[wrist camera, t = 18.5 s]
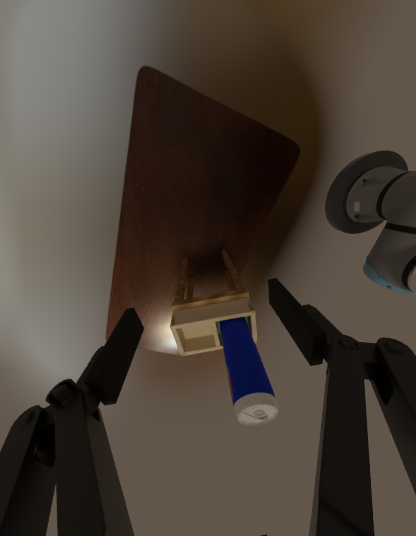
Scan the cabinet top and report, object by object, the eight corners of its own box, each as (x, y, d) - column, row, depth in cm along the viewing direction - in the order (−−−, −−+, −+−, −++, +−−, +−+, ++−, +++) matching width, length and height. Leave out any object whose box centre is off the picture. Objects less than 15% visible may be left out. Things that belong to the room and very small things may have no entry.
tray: (248, 297, 31) (255, 311, 28) (250, 326, 35) (257, 342, 31) (172, 311, 32) (169, 326, 28) (182, 339, 35) (181, 356, 31)
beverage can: (213, 319, 32) (226, 416, 18) (235, 305, 30) (265, 397, 17) (229, 334, 34) (251, 431, 20) (250, 321, 32) (288, 414, 19)
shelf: (226, 248, 54) (248, 292, 31) (229, 274, 59) (251, 330, 35) (181, 256, 55) (170, 306, 31) (188, 282, 59) (183, 342, 36)
